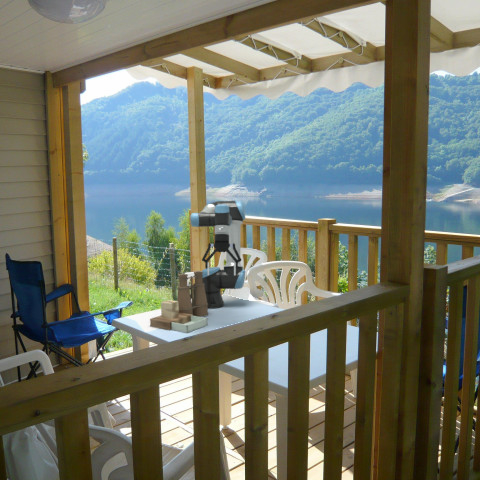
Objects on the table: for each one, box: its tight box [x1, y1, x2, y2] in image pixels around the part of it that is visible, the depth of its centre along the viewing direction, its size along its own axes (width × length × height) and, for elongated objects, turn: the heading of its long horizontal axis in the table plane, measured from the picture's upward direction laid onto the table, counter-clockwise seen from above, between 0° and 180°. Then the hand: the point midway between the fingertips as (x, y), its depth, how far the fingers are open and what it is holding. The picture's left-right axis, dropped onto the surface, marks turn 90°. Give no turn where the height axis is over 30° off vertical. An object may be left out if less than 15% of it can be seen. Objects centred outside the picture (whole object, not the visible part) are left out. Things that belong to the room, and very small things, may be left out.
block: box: [160, 299, 179, 319], centre depth 269 cm, size 6×7×8 cm
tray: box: [171, 316, 208, 334], centre depth 262 cm, size 16×11×4 cm
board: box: [149, 313, 193, 331], centre depth 269 cm, size 18×14×4 cm
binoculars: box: [176, 270, 209, 317], centre depth 284 cm, size 21×10×25 cm, turn 133°
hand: (221, 275), depth 259 cm, fingers open, 13 cm apart
